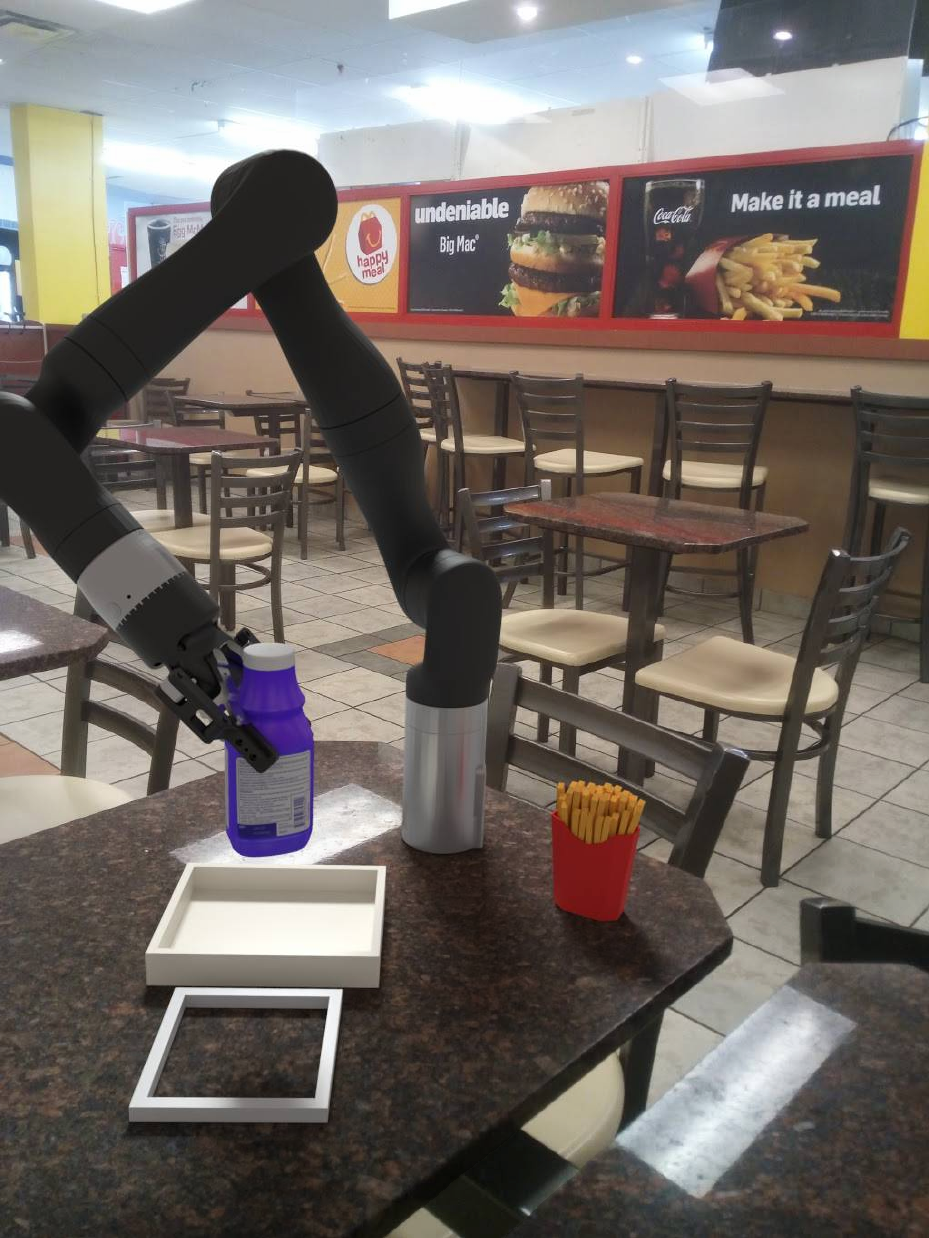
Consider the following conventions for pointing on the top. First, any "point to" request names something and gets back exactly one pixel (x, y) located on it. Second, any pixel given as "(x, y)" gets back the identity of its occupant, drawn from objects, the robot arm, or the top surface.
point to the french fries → (594, 848)
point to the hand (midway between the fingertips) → (287, 748)
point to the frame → (238, 1108)
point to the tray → (271, 927)
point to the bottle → (283, 795)
